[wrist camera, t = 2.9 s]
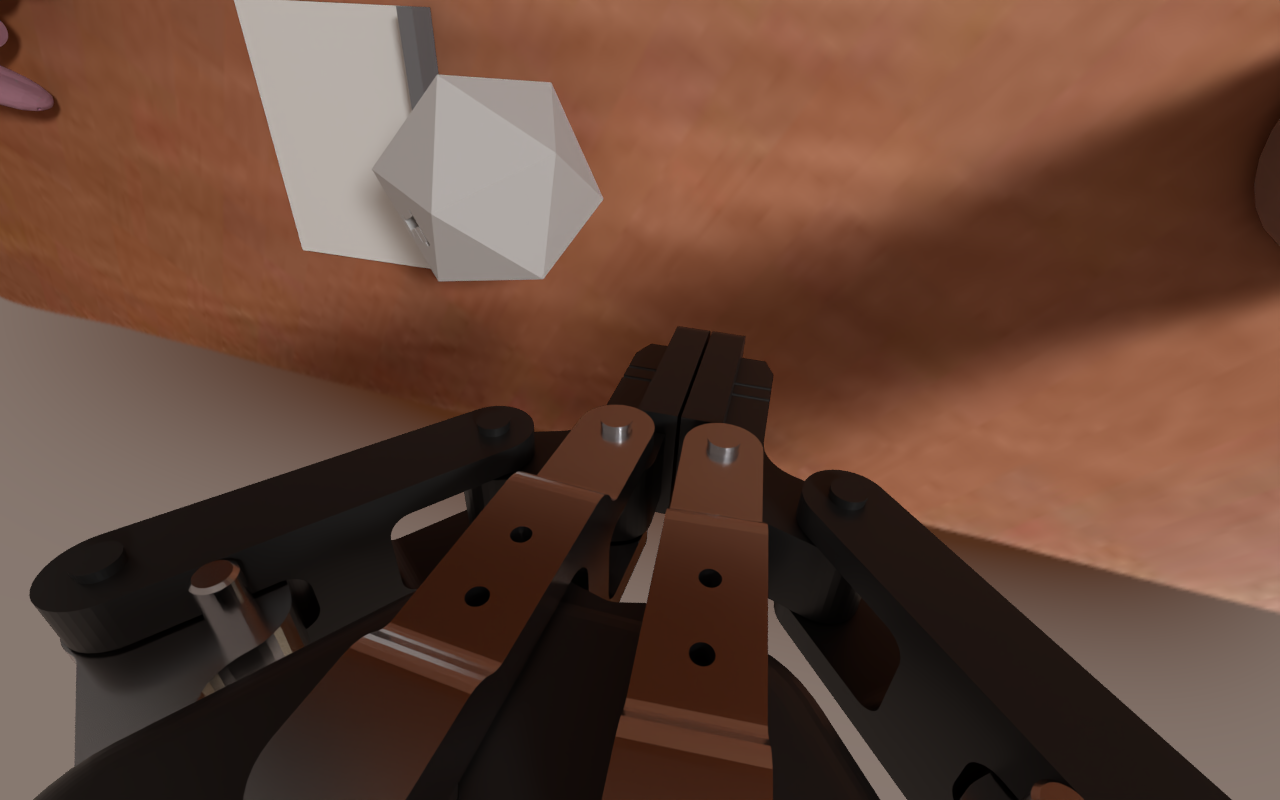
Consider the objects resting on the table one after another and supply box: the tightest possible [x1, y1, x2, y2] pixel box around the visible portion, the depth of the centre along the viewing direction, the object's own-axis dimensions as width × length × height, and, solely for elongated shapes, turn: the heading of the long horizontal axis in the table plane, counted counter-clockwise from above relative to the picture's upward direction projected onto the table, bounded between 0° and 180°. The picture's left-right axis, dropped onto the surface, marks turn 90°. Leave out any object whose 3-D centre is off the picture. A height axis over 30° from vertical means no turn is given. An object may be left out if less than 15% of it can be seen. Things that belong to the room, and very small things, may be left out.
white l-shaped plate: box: [234, 0, 439, 269], centre depth 32 cm, size 11×13×2 cm
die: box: [372, 75, 603, 281], centre depth 26 cm, size 8×9×10 cm
